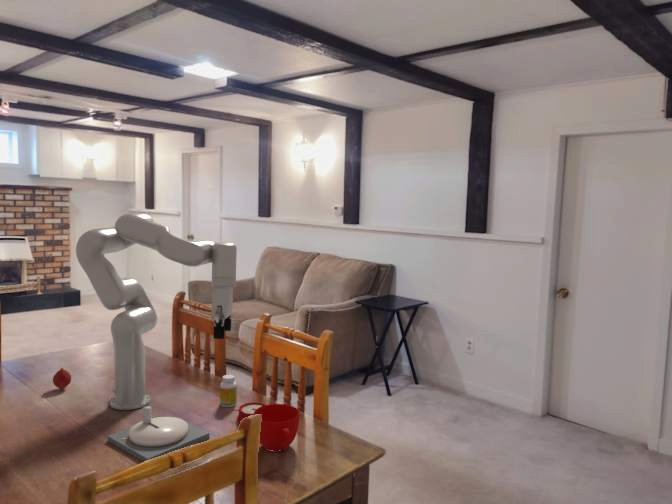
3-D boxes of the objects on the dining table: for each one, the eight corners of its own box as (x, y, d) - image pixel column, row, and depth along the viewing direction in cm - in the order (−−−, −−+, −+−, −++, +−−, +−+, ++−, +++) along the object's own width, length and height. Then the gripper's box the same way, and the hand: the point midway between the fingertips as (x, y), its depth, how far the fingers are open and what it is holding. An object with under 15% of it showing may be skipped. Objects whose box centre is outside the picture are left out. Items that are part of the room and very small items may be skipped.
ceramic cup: (263, 468, 137) (264, 431, 136) (247, 440, 152) (248, 407, 151) (310, 459, 142) (311, 424, 141) (290, 433, 158) (291, 401, 157)
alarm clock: (252, 399, 174) (284, 401, 165) (254, 418, 174) (287, 421, 165) (227, 408, 166) (259, 411, 157) (230, 428, 166) (262, 432, 156)
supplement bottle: (232, 408, 175) (232, 380, 174) (217, 406, 176) (217, 378, 175) (238, 402, 180) (239, 374, 179) (224, 400, 181) (224, 373, 180)
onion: (49, 390, 186) (48, 368, 185) (63, 385, 191) (62, 364, 190) (61, 393, 184) (60, 371, 183) (75, 388, 189) (74, 366, 188)
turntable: (118, 434, 150) (117, 414, 149) (166, 417, 162) (166, 398, 162) (150, 452, 140) (150, 430, 139) (199, 432, 153) (199, 412, 152)
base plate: (107, 441, 150) (107, 435, 150) (168, 418, 165) (168, 413, 165) (147, 464, 138) (147, 458, 137) (209, 437, 153) (209, 432, 153)
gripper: (218, 277, 175) (217, 327, 177) (204, 285, 158) (203, 341, 160) (240, 278, 175) (239, 328, 177) (229, 287, 158) (228, 342, 160)
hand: (222, 334), depth 169 cm, fingers open, 9 cm apart
